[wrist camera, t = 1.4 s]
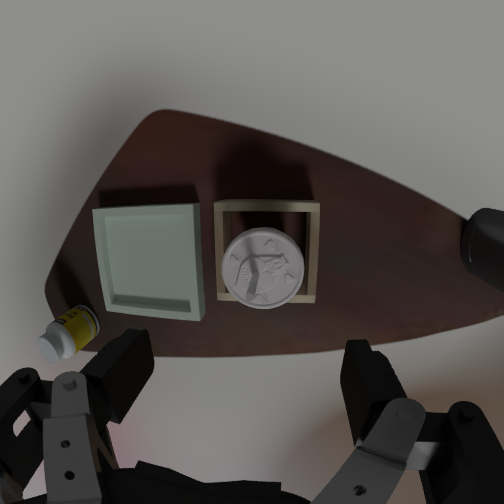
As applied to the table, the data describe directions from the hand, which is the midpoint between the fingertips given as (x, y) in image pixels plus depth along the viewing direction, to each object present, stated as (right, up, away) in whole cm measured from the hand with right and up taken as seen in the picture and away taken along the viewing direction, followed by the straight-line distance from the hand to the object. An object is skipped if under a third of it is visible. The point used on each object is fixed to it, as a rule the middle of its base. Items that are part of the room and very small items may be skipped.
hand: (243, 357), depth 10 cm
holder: (+2, +5, +20) cm, 21 cm away
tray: (-12, +3, +22) cm, 25 cm away
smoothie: (+2, +5, +20) cm, 21 cm away
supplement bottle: (-25, -6, +26) cm, 36 cm away
